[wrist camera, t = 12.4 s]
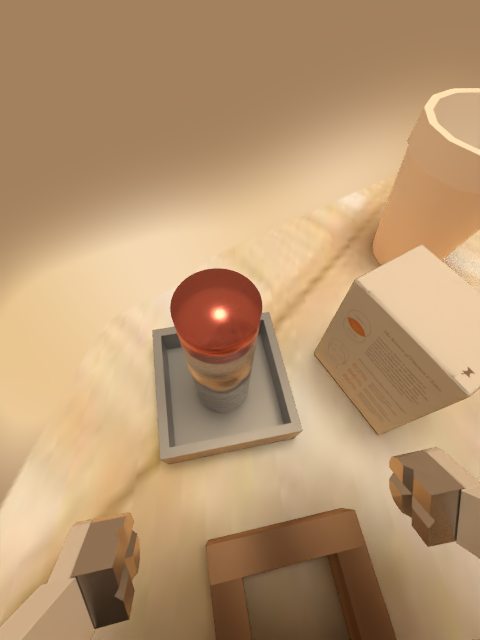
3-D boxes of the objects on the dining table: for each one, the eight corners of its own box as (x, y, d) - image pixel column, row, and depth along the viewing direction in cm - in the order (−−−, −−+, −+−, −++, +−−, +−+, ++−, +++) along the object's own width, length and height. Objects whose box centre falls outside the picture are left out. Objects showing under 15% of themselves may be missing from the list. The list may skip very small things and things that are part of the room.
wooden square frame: (341, 508, 20) (354, 509, 18) (401, 704, 16) (428, 736, 14) (208, 540, 19) (205, 546, 17) (234, 759, 15) (235, 803, 13)
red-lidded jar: (242, 359, 25) (251, 263, 14) (253, 407, 23) (271, 337, 13) (194, 367, 24) (167, 274, 14) (200, 418, 23) (174, 353, 12)
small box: (427, 399, 24) (546, 342, 15) (376, 437, 23) (474, 400, 14) (359, 323, 28) (423, 240, 19) (311, 352, 26) (354, 276, 17)
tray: (265, 330, 27) (269, 312, 24) (294, 437, 23) (302, 430, 20) (160, 347, 26) (152, 330, 23) (169, 463, 21) (160, 459, 19)
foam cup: (376, 209, 35) (445, 76, 24) (457, 244, 33) (576, 113, 22) (343, 261, 31) (407, 130, 20) (433, 305, 29) (563, 184, 18)
